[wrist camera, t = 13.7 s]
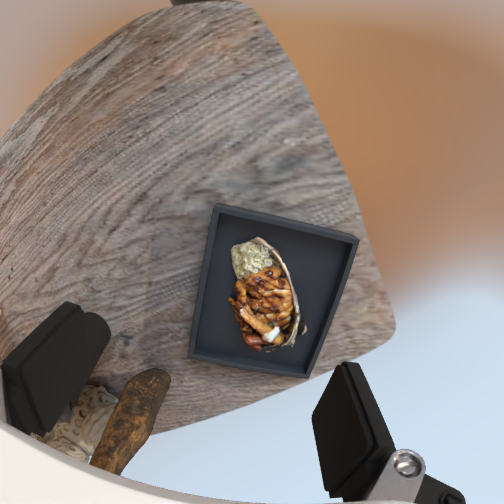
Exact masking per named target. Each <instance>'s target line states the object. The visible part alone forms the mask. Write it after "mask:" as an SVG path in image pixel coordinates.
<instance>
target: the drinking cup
mask: <svg viewBox="0 0 504 504" xmlns="http://www.w3.org/2000/svg"><path fill="white" fill-rule="evenodd" d="M84 314H85V326H86V337H87V347H88V355H89V363H90V369H89V372H88V374H87V376H86V377H85V379H84V380H83V382H82V383H81V385H80V386H79V388H78V389H77V391H76V393H75V394H74V396H73V397H72V399H71V400H70V402H69V404H68V405H67V407H66V408H65V410H64V412H63V413H62V415H61V416H60V418H59V420H58V421H57V422H59V423H66V422H69V421H70V420H71V419H72V417H73V415H74V407H75V405H76V403H77V401H78V399H79V397H80V395H81V393H82V391H83V389H84V387H85V385H86V383H87V381H88V379H89V377H90V375H91V373H92V371H93V369H94V367H95V366H96V364H97V362H98V360H99V358H100V356H101V354H102V353H103V351H104V349H105V347H106V345H107V343H108V342H109V340H110V337H111V333H110V329H109V326H108V324H107V323H106V321H105V320H104V319H103V318H102V317H100V316H99V315H97V314H95V313H91V312H87V313H84Z"/></svg>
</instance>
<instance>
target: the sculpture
mask: <svg viewBox="0 0 504 504" xmlns="http://www.w3.org/2000/svg"><path fill="white" fill-rule="evenodd" d="M170 382H171V377H170V375H169V374H168V373H167V372H166V371H163V370H161V369H158V368H152V369H148V370H146V371H144V372H142V373H140V374H138V375H136V376H134V377H133V378H131V379H130V380H129V381H128V382H127V384H126V385H125V387H124V389H123V391H122V394H121V396H120V399H119V401H118V403H117V404H116V406H115V408H114V410H113V412H112V415H111V416H110V418H109V420H108V423H107V425H106V427H105V429H104V431H103V434H102V437H101V439H100V442H99V443H98V445H97V447H96V449H95V451H94V453H93V455H92V458H91V460H90V463H89V465H92V466H94V467H97V468H99V469H102V470H105V471H107V472H110V473H113V474H116V475H119V476H120V475H121V472H122V471H123V469H124V467H125V466H126V465H127V464H128V463H129V461H130V460H131V459H132V458H133V457H134V455H135V454H136V453H137V451H138V450H139V449H140V448H141V447H142V446H143V445H144V444H145V442H146V441H147V439H148V438H149V436H150V434H151V432H152V429H153V425H154V423H155V419H156V415H157V413H158V411H159V409H160V406H161V403H162V401H163V398H164V396H165V395H166V393H167V391H168V389H169V385H170Z"/></svg>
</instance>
